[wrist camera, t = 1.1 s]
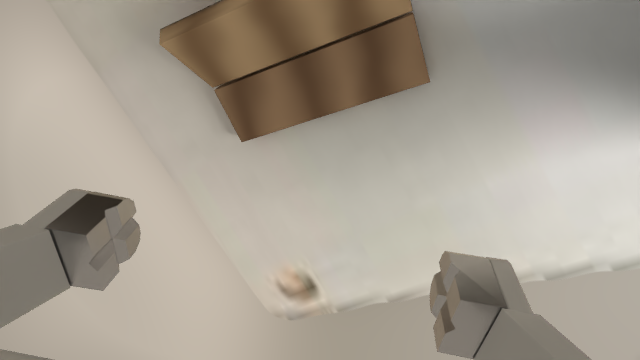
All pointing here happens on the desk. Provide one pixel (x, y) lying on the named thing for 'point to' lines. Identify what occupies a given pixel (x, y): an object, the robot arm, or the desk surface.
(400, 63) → the laid board
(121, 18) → the desk surface
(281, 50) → the plank
